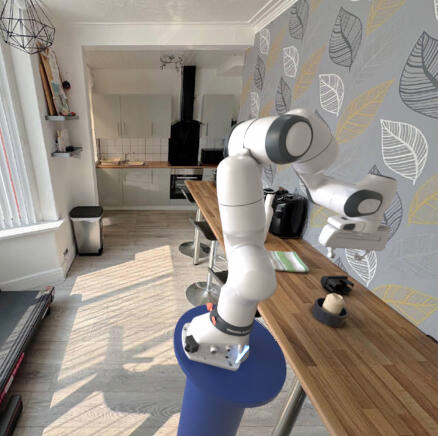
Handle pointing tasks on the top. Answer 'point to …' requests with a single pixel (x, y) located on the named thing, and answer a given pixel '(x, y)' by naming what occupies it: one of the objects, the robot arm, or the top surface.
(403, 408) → the top surface
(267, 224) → the bottle
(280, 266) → the dish towel
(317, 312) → the holder
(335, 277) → the end cap
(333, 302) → the candle
